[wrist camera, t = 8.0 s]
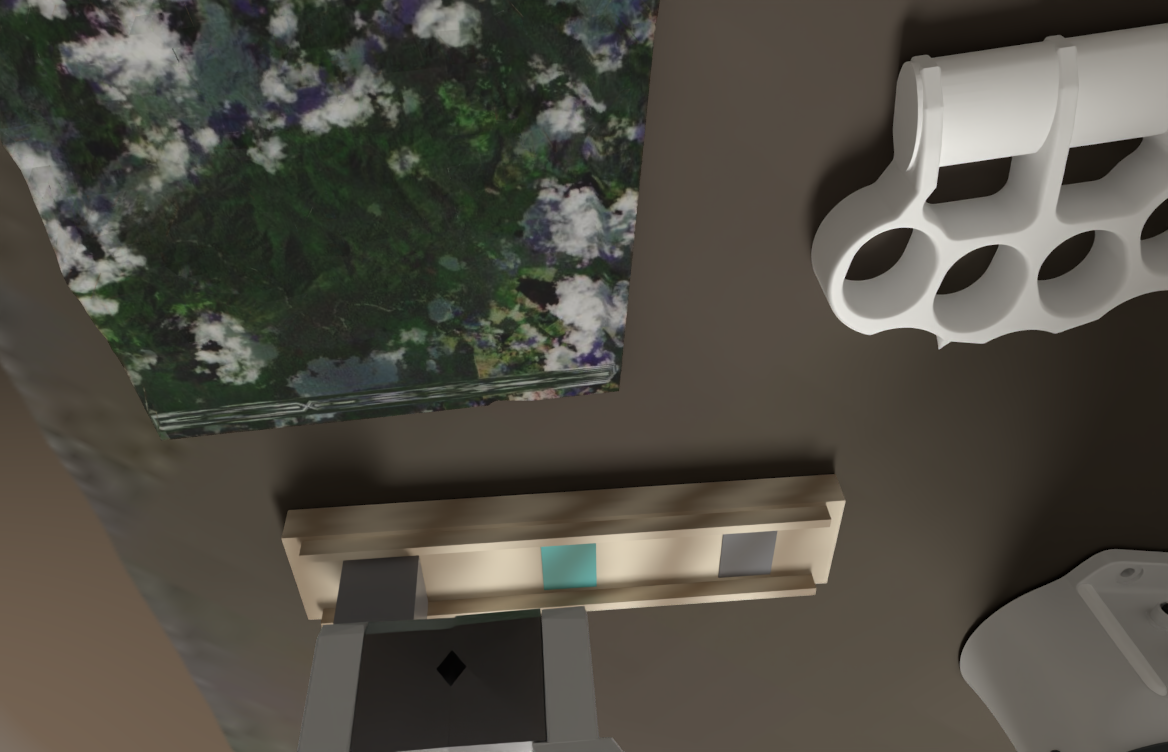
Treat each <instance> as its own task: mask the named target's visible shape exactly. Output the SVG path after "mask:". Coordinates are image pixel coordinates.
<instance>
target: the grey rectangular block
mask: <svg viewBox="0 0 1168 752" xmlns="http://www.w3.org/2000/svg"><path fill="white" fill-rule="evenodd" d="M427 612H428V598H427V593H426V588H425V583H424V578H423V573H422V568H421V563H420V558H419V555H417V556H403V557H388V558H373V559H359V560H344V561H343V565H342V571H341V578H340V584H339V590H338V596H337V603H336V609H335V615H334V622H333V624H344V623H358V622H379V621H398V620H416V619H427Z"/></svg>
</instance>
